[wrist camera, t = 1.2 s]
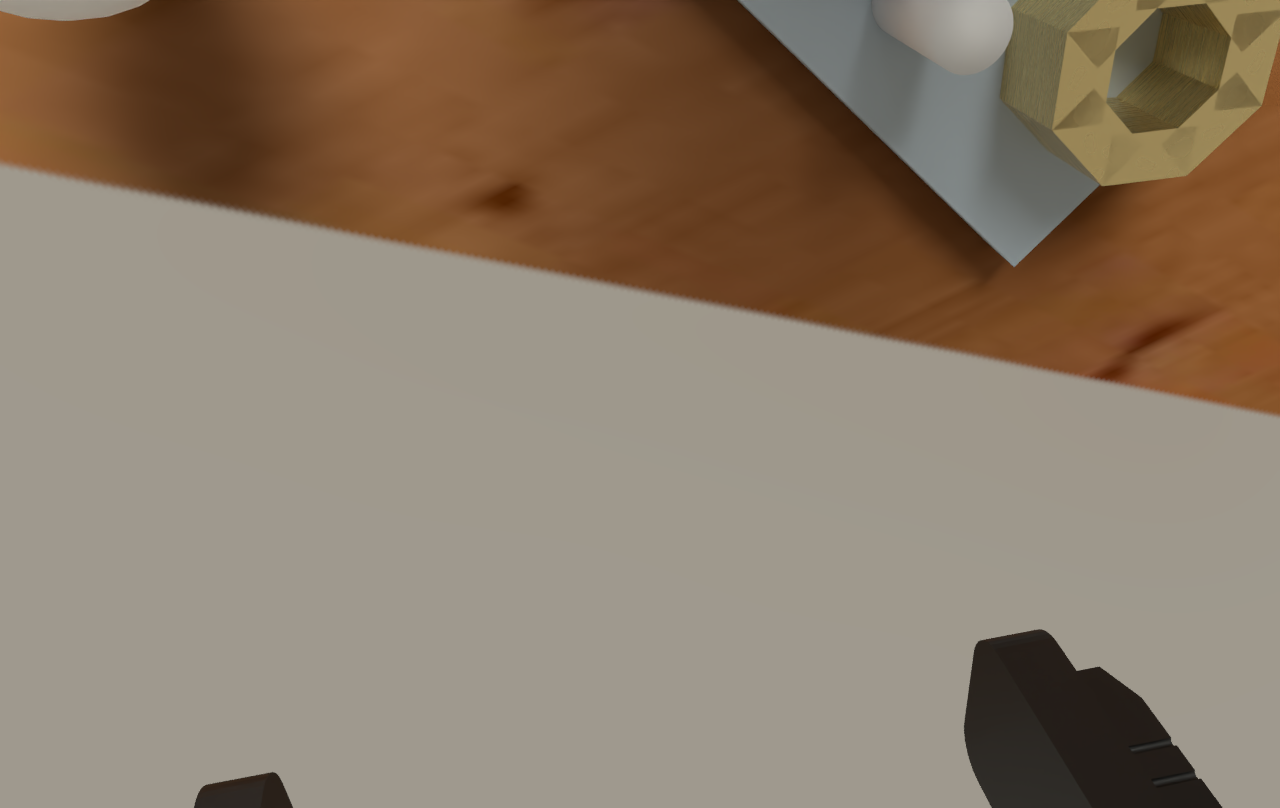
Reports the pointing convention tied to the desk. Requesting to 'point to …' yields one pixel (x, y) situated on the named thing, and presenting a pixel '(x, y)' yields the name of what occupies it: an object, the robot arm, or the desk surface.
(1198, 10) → the brass gear
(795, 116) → the desk surface
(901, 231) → the desk surface
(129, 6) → the lightbulb
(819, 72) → the gear board
